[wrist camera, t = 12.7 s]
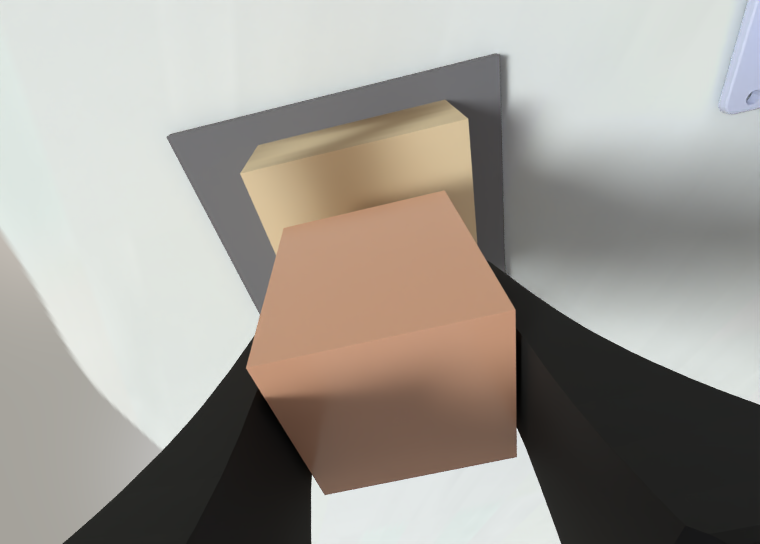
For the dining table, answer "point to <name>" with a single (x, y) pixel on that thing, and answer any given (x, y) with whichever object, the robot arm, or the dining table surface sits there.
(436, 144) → the oak slab
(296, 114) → the mat
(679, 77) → the dining table surface
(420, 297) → the terracotta cube
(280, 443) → the robot arm
